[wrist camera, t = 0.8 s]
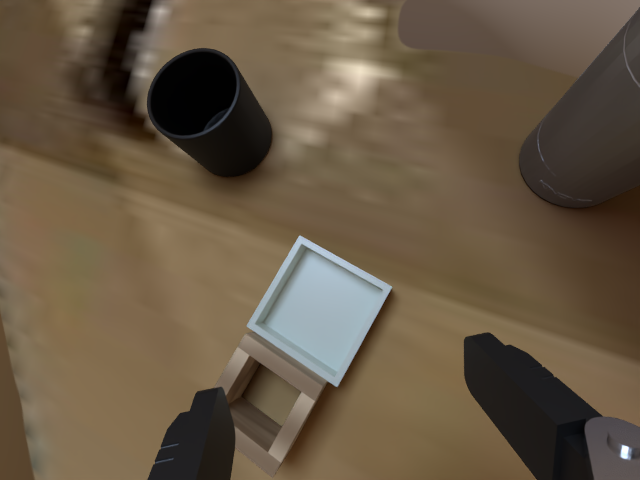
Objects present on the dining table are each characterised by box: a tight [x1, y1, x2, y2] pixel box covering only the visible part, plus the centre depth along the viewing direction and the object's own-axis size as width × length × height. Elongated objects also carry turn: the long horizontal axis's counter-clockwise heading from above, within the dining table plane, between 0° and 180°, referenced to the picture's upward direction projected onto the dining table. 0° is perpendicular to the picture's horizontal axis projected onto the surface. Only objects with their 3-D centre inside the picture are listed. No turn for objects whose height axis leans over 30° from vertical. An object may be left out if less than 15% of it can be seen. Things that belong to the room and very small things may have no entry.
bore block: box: [214, 332, 328, 478], centre depth 29 cm, size 8×8×5 cm
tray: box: [247, 236, 392, 387], centre depth 31 cm, size 10×10×3 cm
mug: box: [147, 48, 271, 177], centre depth 34 cm, size 9×12×9 cm
